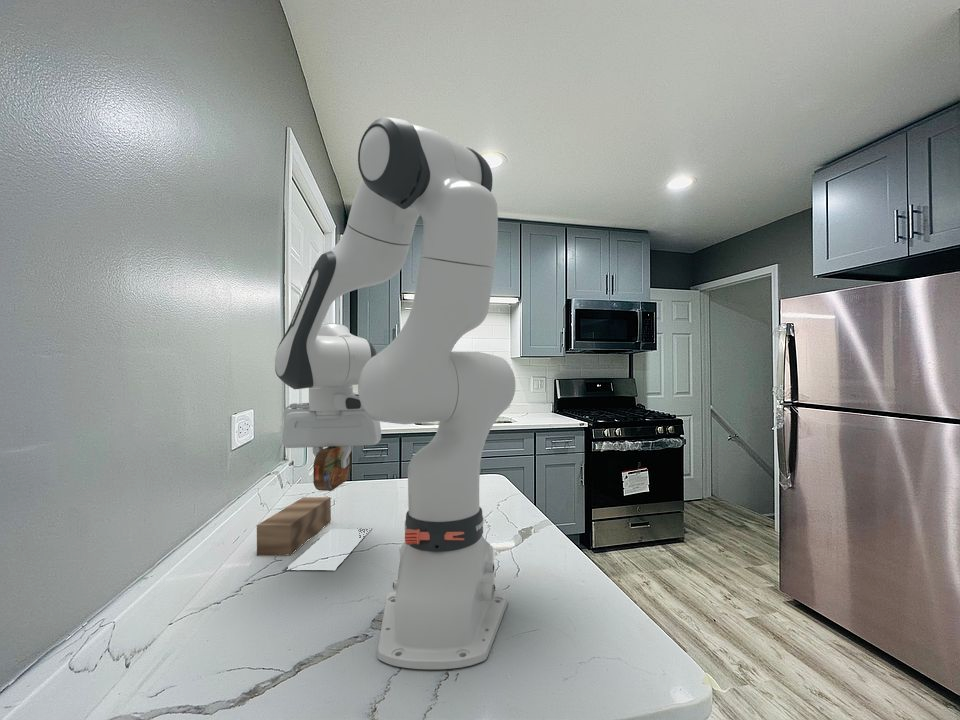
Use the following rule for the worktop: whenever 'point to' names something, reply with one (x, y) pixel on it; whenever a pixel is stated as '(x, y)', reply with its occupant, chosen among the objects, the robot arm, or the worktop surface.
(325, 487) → the tin
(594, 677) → the worktop surface
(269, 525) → the block
